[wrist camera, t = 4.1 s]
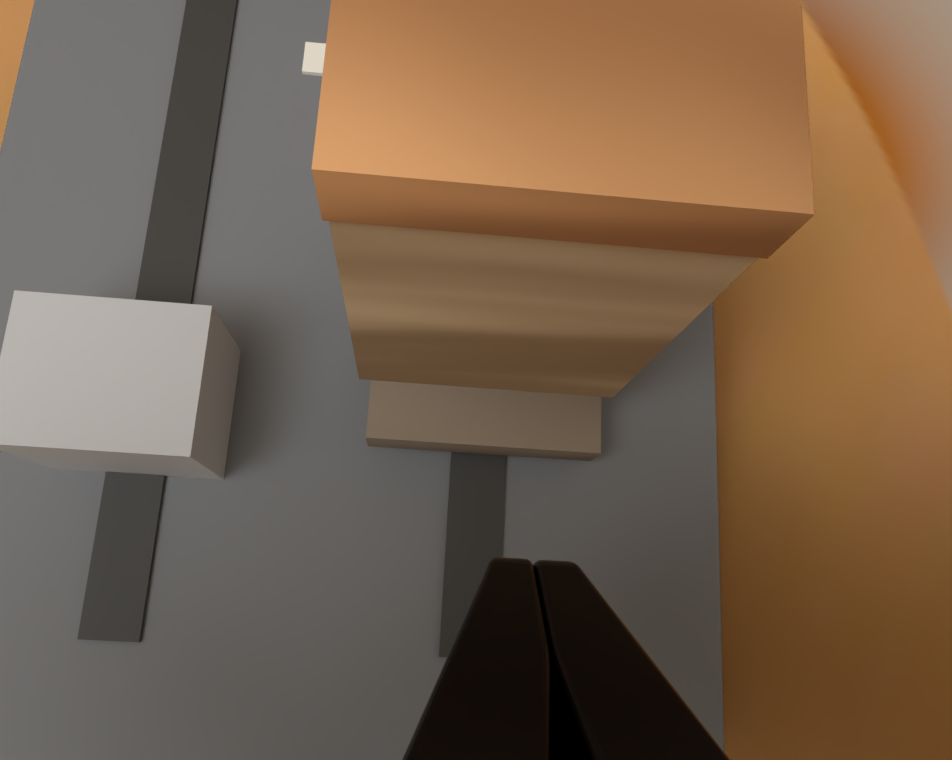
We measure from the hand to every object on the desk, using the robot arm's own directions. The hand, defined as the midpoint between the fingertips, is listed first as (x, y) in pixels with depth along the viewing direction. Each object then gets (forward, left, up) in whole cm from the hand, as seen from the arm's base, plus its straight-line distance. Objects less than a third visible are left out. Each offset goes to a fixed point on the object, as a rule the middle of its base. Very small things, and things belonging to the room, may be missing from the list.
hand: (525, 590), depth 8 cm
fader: (+3, -3, -6) cm, 8 cm away
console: (+6, -2, -9) cm, 11 cm away
